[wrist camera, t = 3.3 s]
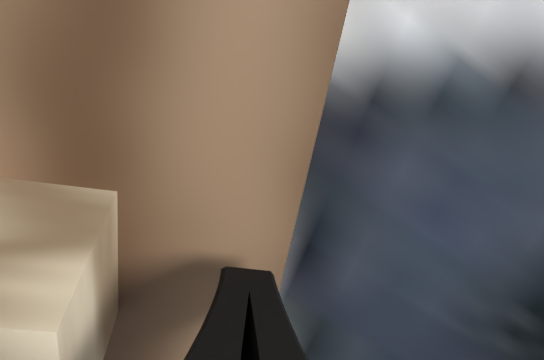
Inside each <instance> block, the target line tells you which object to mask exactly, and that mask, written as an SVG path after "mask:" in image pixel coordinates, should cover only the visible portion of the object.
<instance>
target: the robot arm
mask: <svg viewBox="0 0 544 360" xmlns="http://www.w3.org/2000/svg"><path fill="white" fill-rule="evenodd" d="M184 360H308V359H307V357H306V355H305V353H304V351H303V349H302V347H301V345H300V343H299V341H298V338H297V336H296V334H295V332H294V330H293V327H292V325H291V323H290V320H289V318H288V316H287V313H286V311H285V308H284V305H283V303H282V300H281V297H280V294H279V291H278V288H277V285H276V281H275V277H274V274H273V273H272V272H271V271H266V270H256V269H247V268H237V267H228V266H225V267H224V268H222V269H221V273H220V279H219V283H218V287H217V290H216V293H215V296H214V299H213V301H212V304H211V306H210V309H209V311H208V313H207V315H206V318H205V320H204V322H203V324H202V326H201V328H200V330H199V332H198V334H197V336H196V338H195V340H194V342H193V344H192V345H191V347H190V349H189V351H188V353H187V355H186V356H185V358H184Z"/></svg>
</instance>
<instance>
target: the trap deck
mask: <svg viewBox="0 0 544 360" xmlns="http://www.w3.org/2000/svg"><path fill="white" fill-rule="evenodd" d="M348 4H349V0H0V178H8V179H16V180H25V181H33V182H42V183H50V184H59V185H67V186H76V187H84V188H93V189H101V190H110V191H117V208H118V314H117V317H116V320H115V324H114V327H113V330H112V333H111V336H110V340H109V343H108V346H107V349H106V352H105V356H104V359H103V360H184V358H185V356H186V355H187V353H188V351H189V349H190V347H191V345H192V344H193V342H194V340H195V338H196V336H197V334H198V332H199V330H200V328H201V326H202V324H203V322H204V320H205V318H206V315H207V313H208V311H209V309H210V306H211V304H212V301H213V299H214V296H215V293H216V290H217V287H218V283H219V279H220V273H221V269H222V268H224V267H225V266H228V267H237V268H247V269H256V270H266V271H271V272H272V273H273V274H274V277H275V281H276V285H277V288H278V291H279V289H280V285H281V281H282V276H283V272H284V268H285V264H286V260H287V256H288V252H289V248H290V243H291V239H292V235H293V231H294V227H295V223H296V219H297V215H298V210H299V206H300V202H301V198H302V194H303V190H304V186H305V182H306V178H307V173H308V169H309V165H310V161H311V157H312V153H313V149H314V145H315V140H316V136H317V132H318V128H319V124H320V120H321V116H322V112H323V107H324V103H325V99H326V95H327V91H328V87H329V83H330V79H331V74H332V70H333V66H334V62H335V58H336V54H337V50H338V46H339V41H340V37H341V33H342V29H343V25H344V21H345V17H346V13H347V8H348Z"/></svg>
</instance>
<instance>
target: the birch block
mask: <svg viewBox="0 0 544 360" xmlns="http://www.w3.org/2000/svg"><path fill="white" fill-rule="evenodd" d="M117 314H118V208H117V191H110V190H101V189H93V188H84V187H76V186H67V185H59V184H50V183H42V182H33V181H25V180H16V179H8V178H0V360H103V359H104V356H105V352H106V349H107V346H108V343H109V340H110V336H111V333H112V330H113V327H114V324H115V320H116V317H117Z"/></svg>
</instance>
